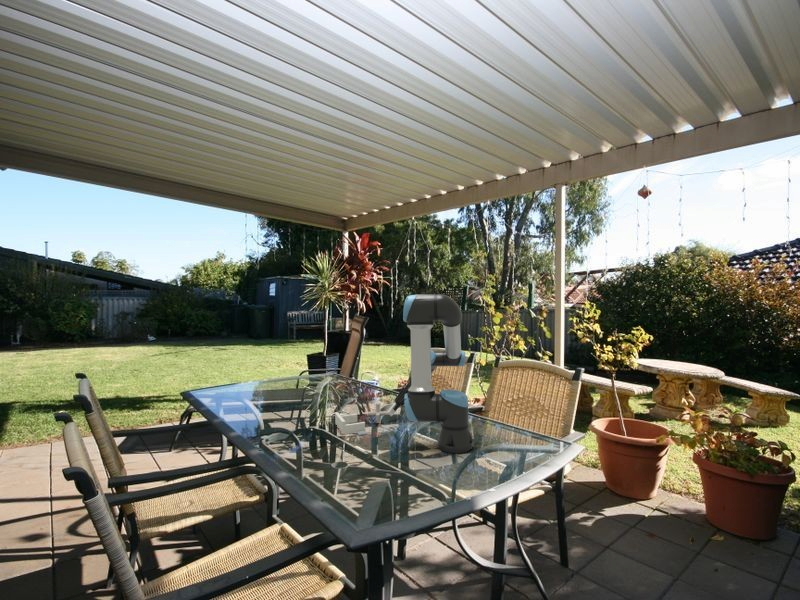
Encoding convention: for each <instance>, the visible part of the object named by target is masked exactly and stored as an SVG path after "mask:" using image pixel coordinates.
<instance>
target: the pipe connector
mask: <svg viewBox="0 0 800 600" xmlns="http://www.w3.org/2000/svg"><path fill="white" fill-rule="evenodd" d="M380 407H381V405H380V403H379V402H376V403H375V408H376V409H375V411H368V412H367V415H368V416H375V418H376V424H377V423H380V424H381V416H389V414H388V410H386V411H385V410H383V411H382V410H381V408H380Z"/></svg>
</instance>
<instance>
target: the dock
mask: <svg viewBox="0 0 800 600" xmlns="http://www.w3.org/2000/svg"><path fill="white" fill-rule="evenodd" d="M334 414H335V415H334V416H335V418H334V419H335V426H336V425H337V426H336V427H337V429H338V428H339V429H338V430H339V432H340V431H341V432H340V433H341V435H348V434H357V435H358V437H359V436H360V437H361V436H366V435H368V432H367V431H366V422H365V421H360V422H358V421H359V420H358V414H357V413H351V414H344V415H341V414H340V413H339V411H336V412H334Z"/></svg>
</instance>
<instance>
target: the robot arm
mask: <svg viewBox="0 0 800 600" xmlns="http://www.w3.org/2000/svg"><path fill="white" fill-rule="evenodd" d="M402 311H403V314H402V316H403V317H402V319H403V322H405V323H406V326H407V328H408V329H409V330H410V368H411V369H410V373H411V375H410V376H409V378H408V381H409V382H408V383H407V384H406V385H405V384H403V385H402V387H401V389H400V391H399V392H398V394H397V395H396V397H395V398H394V403H393V404H392V405H391V407H390V408H389V409H388V410H387V411H388V416H390V417H393V415H394V414H395V413H396V411H397V410H399V408H400V407H404V411H405V415H406V417H407V420H408V421H410V422H416V423H417V422H418V423H424V422H425V423H430V422H431V423H440V431H439V434H438V438H437V440H436V441H437V442H436V443H437V449H439V450H440V451H442V452H446V453H451V454H462V453H467V451H468V452H470V451H471V450H470V449H471V448H472V447H473V448H474V440H473V437H472V434H471V431H470V427H469V426H470V425H469V423H470V422H469V407H470V405H469V404H470V403H469V397H468V395H467V394H466V393H464V392H462V391H460V390H456V389H442V390H440V392H439V393H436V389H435V387H434V386H432V374H433V372H434V371H435V370H436V369H437V368H438V367H464V366H465V365H466V352H465V351H464V350H462V346H461V345H462V340H461V339H462V338H461V323H462V322H463V313H462V309H461V307H460V306H459V304H458V303H457V302H456V301H455V300H454V299H453V298H452V297H451V296H448V295H446V294H442V293H437V294H436V293H435V294H429V293H428V294H427V293H426V294H425V293H423V294H422V293H421V294H419V293H418V294H410V295H407V296H406V298H405V299H404V303H403V310H402ZM434 322H441V324H442V326H443V337H444V348H445V350H443V351H442V350H440V351H439V350H436V351H435V350H432V343H431V329H432V328H433V327H434V325H435V323H434ZM469 450H470V451H469Z"/></svg>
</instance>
